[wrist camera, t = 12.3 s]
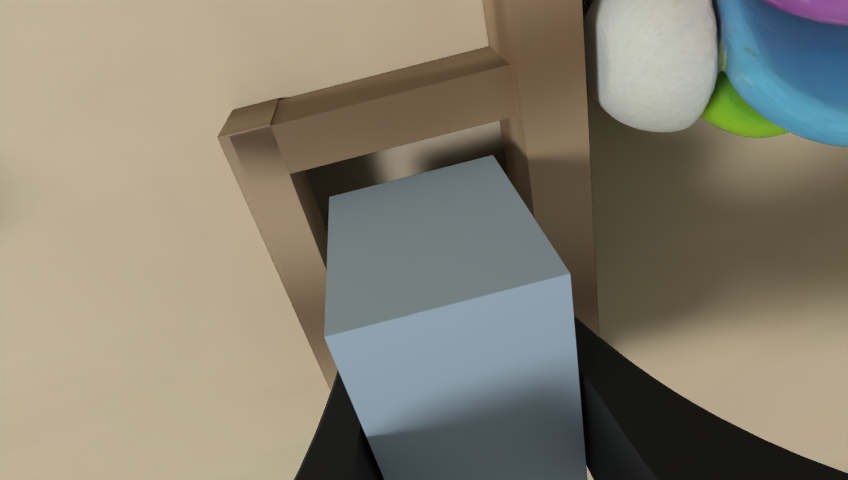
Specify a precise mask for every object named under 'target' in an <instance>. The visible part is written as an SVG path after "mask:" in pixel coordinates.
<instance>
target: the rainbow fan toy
mask: <svg viewBox="0 0 848 480" xmlns="http://www.w3.org/2000/svg"><path fill="white" fill-rule="evenodd" d="M583 29H584V49H585V69H586V84H587V87H588V89H589V91H590V93H591V95H592V96H593V98H594V99H595V101H596V102H597V103H598V104H599V105H600V106H601V107H602V108H603V109H604V110H605V111H606V112H607V113H608V114H610V115H611V116H612V117H613V118H615V119H616V120H618V121H619V122H621V123H623V124H626V125H628V126H630V127H633V128H636V129H640V130H645V131H651V132H675V131H680V130H683V129H686V128H688V127H690V126H691V125H692V124H693V123H694V122H695V121H697V120H698V118H699V117H700V116H701V117H702V118H703V119H704V120H706V121H707V122H709V123H711V124H712V125H714V126H716V127H718V128H720V129H723V130H725V131H728V132H731V133H733V134H736V135H741V136H745V137H752V138H763V137H772V136H776V135H781V134H785V133H788V132H791V133H793V134H795V135H798V136H801V137H803V138H806V139H809V140H813V141H816V142H820V143H824V144H829V145H836V146H848V0H593V2H592V4H591V5H590V8H589V10H588V12H587V14H586V16H585V20H584V23H583Z"/></svg>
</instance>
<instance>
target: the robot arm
mask: <svg viewBox="0 0 848 480" xmlns="http://www.w3.org/2000/svg"><path fill="white" fill-rule="evenodd" d="M574 324H575V336H576V348H577V360H578V372H579V384H580V396H581V408H582V420H583V433H584V445H585V457H586V465H587V467H588V469H589V471H590V473H591V475H592V477H593V479H594V480H848V473H845V472H842V471H840V470H837V469H834V468H832V467H829V466H826V465H824V464H821V463H818V462H816V461H813V460H810V459H808V458H805V457H803V456H800V455H798V454H796V453H793V452H791V451H789V450H786V449H784V448H782V447H779V446H777V445H775V444H773V443H770V442H768V441H766V440H763V439H761V438H759V437H757V436H755V435H753V434H751V433H749V432H747V431H745V430H743V429H741V428H739V427H737V426H735V425H733V424H731V423H729V422H727V421H725V420H723V419H721V418H719V417H717V416H716V415H714V414H712V413H710V412H708V411H707V410H705V409H703V408H701V407H700V406H698V405H696V404H694V403H693V402H691V401H689V400H688V399H686V398H684V397H683V396H681V395H679V394H678V393H676V392H674V391H673V390H671V389H670V388H668V387H667V386H665V385H664V384H662V383H661V382H659V381H658V380H656V379H655V378H653V377H652V376H650V375H649V374H647V373H646V372H645V371H643V370H642V369H640V368H639V367H637V366H636V365H635V364H633V363H632V362H631V361H629V360H628V359H627V358H625V357H624V356H623V355H622V354H620V353H619V352H618V351H616V350H615V349H614V348H613V347H611V346H610V345H609V344H608V343H606V342H605V341H604V340H603V339H601V338H600V337H599V336H598V335H597V334H595V333H594V332H593V331H592V330H591V329H590V328H588V327H587V326H586V325H585V324H584V323H583V322H582V321H581V320H579V319H578V318H577V317H576V316H575V315H574ZM294 480H384V477H383V475H382V473H381V470H380V468H379V466H378V463H377V461H376V459H375V456H374V454H373V451H372V449H371V447H370V444H369V442H368V440H367V437H366V435H365V433H364V430H363V428H362V425H361V423H360V421H359V418H358V416H357V414H356V411H355V409H354V407H353V404H352V402H351V399H350V397H349V395H348V392H347V390H346V388H345V385H344V383H343V381H342V378H341V376H340V373H339V371H338V370H337V374H336V377H335V380H334V383H333V387H332V390H331V393H330V395H329V398H328V401H327V404H326V407H325V409H324V412H323V415H322V417H321V420H320V423H319V425H318V428H317V430H316V433H315V435H314V438H313V440H312V442H311V444H310V447H309V449H308V451H307V453H306V455H305V458H304V460H303V462H302V464H301V467H300V469H299V471H298V473H297V475H296V477H295V479H294Z"/></svg>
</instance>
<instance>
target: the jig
mask: <svg viewBox="0 0 848 480" xmlns="http://www.w3.org/2000/svg"><path fill="white" fill-rule="evenodd" d="M483 7H484V14H485V21H486V28H487V35H488V42H489V47H485V48H481V49H477V50H473V51H470V52H466V53H462V54H458V55H454V56H450V57H446V58H442V59H438V60H434V61H430V62H427V63H423V64H419V65H415V66H411V67H407V68H403V69H399V70H395V71H391V72H387V73H384V74H380V75H376V76H372V77H368V78H364V79H360V80H356V81H352V82H348V83H344V84H341V85H337V86H333V87H329V88H325V89H321V90H317V91H313V92H309V93H305V94H301V95H298V96H294V97H290V98H286V99H282V100H279V98H278V99H274V100H270V101H266V102H262V103H258V104H254V105H250V106H246V107H242V108H239V109H235V110H232V112H231V114H230V116H229V117H228V119H227V121H226V123H225V125H224V126H223V128H222V130H221V132H220V133H219V135H218V137H217V138H218V140H219V142H220V144H221V147H222V149H223V151H224V153H225V156H226V158H227V160H228V162H229V165H230V167H231V169H232V171H233V174H234V176H235V178H236V180H237V183H238V185H239V187H240V189H241V191H242V194H243V196H244V198H245V200H246V203H247V205H248V207H249V209H250V212H251V214H252V216H253V218H254V221H255V223H256V225H257V227H258V230H259V232H260V234H261V236H262V238H263V241H264V243H265V245H266V247H267V250H268V252H269V254H270V256H271V259H272V261H273V263H274V265H275V268H276V270H277V272H278V274H279V276H280V279H281V281H282V283H283V285H284V288H285V290H286V292H287V294H288V297H289V299H290V301H291V303H292V306H293V308H294V310H295V312H296V315H297V317H298V319H299V321H300V323H301V326H302V328H303V330H304V332H305V335H306V337H307V339H308V341H309V344H310V346H311V348H312V350H313V353H314V355H315V357H316V359H317V362H318V364H319V366H320V368H321V370H322V373H323V375H324V377H325V379H326V382H327V384H328V386H329V388H330V391H331V390H332V387H333V383H334V380H335V377H336V374H337V370H338V369H337V366H336V364H335V362H334V359H333V357H332V355H331V352H330V350H329V347H328V345H327V343H326V340H325V338H324V326H325V299H326V272H327V246H328V232H327V229H326V226H325V224H324V221H323V218H322V215H321V213H320V210H319V207H318V204H317V202H316V199H315V196H314V193H313V191H312V188H311V185H310V183H309V180H308V177H307V174H306V172H305V170H307V169H311V168H315V167H319V166H323V165H327V164H331V163H334V162H338V161H342V160H346V159H350V158H354V157H358V156H362V155H366V154H370V153H373V152H377V151H381V150H385V149H389V148H393V147H397V146H401V145H405V144H409V143H412V142H416V141H420V140H424V139H428V138H432V137H436V136H440V135H444V134H448V133H451V132H455V131H459V130H463V129H467V128H471V127H475V126H479V125H483V124H487V123H490V122H494V121H498V120H500V126H501V133H502V140H503V147H504V154H505V161H506V167H507V174H508V179H509V180H510V182H511V183H512V185H513V186H514V188H515V190H516V191H517V193H518V194H519V196H520V197H521V199H522V200H523V202H524V203H525V205H526V206H527V208H528V209H529V211H530V213H531V214H532V216H533V217H534V219H535V220H536V222H537V223H538V225H539V226H540V228H541V229H542V231H543V232H544V234H545V236H546V237H547V239H548V240H549V242H550V243H551V245H552V246H553V248H554V249H555V251H556V252H557V254H558V255H559V257H560V259H561V260H562V262H563V263H564V265H565V266H566V268H567V269H568V271H569V272H570V275H571V287H572V300H573V312H574V315H575V316H576V317H577V318H578V319H579V320H581V321H582V322H583V323H584V324H585V325H586V326H587V327H588V328H590V329H591V330H592V331H593V332H594V333H595V334H597V335H598V336H599V326H598V306H597V286H596V266H595V247H594V227H593V207H592V187H591V168H590V148H589V128H588V108H587V89H586V69H585V49H584V29H583V10H582V0H483Z"/></svg>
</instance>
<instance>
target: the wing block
mask: <svg viewBox="0 0 848 480" xmlns="http://www.w3.org/2000/svg"><path fill="white" fill-rule="evenodd" d="M324 338H325V340H326V343H327V345H328V347H329V350H330V352H331V355H332V357H333V359H334V362H335V364H336V366H337V369H338V371H339V373H340V376H341V378H342V381H343V383H344V385H345V388H346V390H347V392H348V395H349V397H350V399H351V402H352V404H353V407H354V409H355V411H356V414H357V416H358V418H359V421H360V423H361V425H362V428H363V430H364V433H365V435H366V437H367V440H368V442H369V444H370V447H371V449H372V451H373V454H374V456H375V459H376V461H377V463H378V466H379V468H380V470H381V473H382V475H383V477H384V480H587V469H586V457H585V445H584V433H583V420H582V408H581V396H580V384H579V372H578V360H577V348H576V336H575V324H574V312H573V300H572V287H571V275H570V272H569V271H568V269H567V268H566V266H565V265H564V263H563V262H562V260H561V259H560V257H559V255H558V254H557V252H556V251H555V249H554V248H553V246H552V245H551V243H550V242H549V240H548V239H547V237H546V236H545V234H544V232H543V231H542V229H541V228H540V226H539V225H538V223H537V222H536V220H535V219H534V217H533V216H532V214H531V213H530V211H529V209H528V208H527V206H526V205H525V203H524V202H523V200H522V199H521V197H520V196H519V194H518V193H517V191H516V190H515V188H514V186H513V185H512V183H511V182H510V180H509V179H508V177H507V176H506V174H505V173H504V171H503V170H502V168H501V167H500V165H499V164H498V162H497V160H496V159H495V157H494V156H493V155H491V156H487V157H483V158H479V159H475V160H471V161H467V162H463V163H459V164H456V165H452V166H448V167H444V168H440V169H436V170H432V171H428V172H424V173H420V174H417V175H413V176H409V177H405V178H401V179H397V180H393V181H389V182H385V183H381V184H378V185H374V186H370V187H366V188H362V189H358V190H354V191H350V192H346V193H342V194H339V195H335V196H331V197H329V219H328V246H327V272H326V299H325V326H324Z"/></svg>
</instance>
